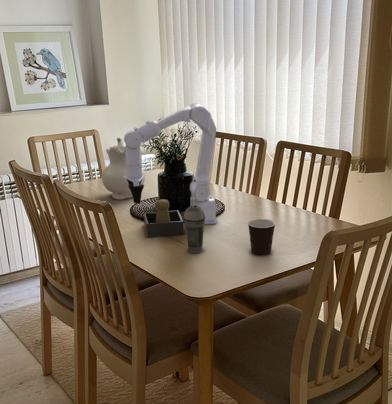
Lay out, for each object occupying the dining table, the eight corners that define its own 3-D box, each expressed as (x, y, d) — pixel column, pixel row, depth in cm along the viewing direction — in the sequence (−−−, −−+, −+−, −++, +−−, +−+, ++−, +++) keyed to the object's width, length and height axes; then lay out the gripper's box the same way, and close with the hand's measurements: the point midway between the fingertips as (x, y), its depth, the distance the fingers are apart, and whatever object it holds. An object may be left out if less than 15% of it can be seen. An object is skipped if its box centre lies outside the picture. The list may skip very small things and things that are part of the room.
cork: (169, 231, 200) (168, 202, 196) (153, 230, 201) (151, 202, 197) (173, 226, 205) (172, 198, 201) (157, 225, 206) (156, 197, 202)
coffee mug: (267, 258, 175) (268, 229, 172) (243, 253, 179) (243, 225, 176) (282, 247, 184) (283, 218, 181) (259, 242, 189) (259, 215, 185)
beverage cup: (190, 256, 179) (188, 197, 172) (180, 249, 185) (178, 192, 178) (210, 252, 182) (209, 194, 175) (199, 245, 188) (198, 188, 181)
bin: (178, 222, 210) (178, 210, 209) (183, 234, 198) (183, 221, 196) (144, 225, 208) (143, 213, 206) (147, 237, 196) (146, 224, 194)
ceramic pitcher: (98, 194, 255) (89, 141, 245) (138, 185, 262) (130, 133, 252) (112, 206, 236) (103, 150, 227) (154, 196, 243) (147, 141, 234)
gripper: (122, 160, 205) (124, 195, 210) (124, 169, 192) (126, 206, 196) (140, 159, 206) (143, 194, 211) (144, 168, 193) (146, 205, 197)
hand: (136, 200), depth 204 cm, fingers open, 7 cm apart
